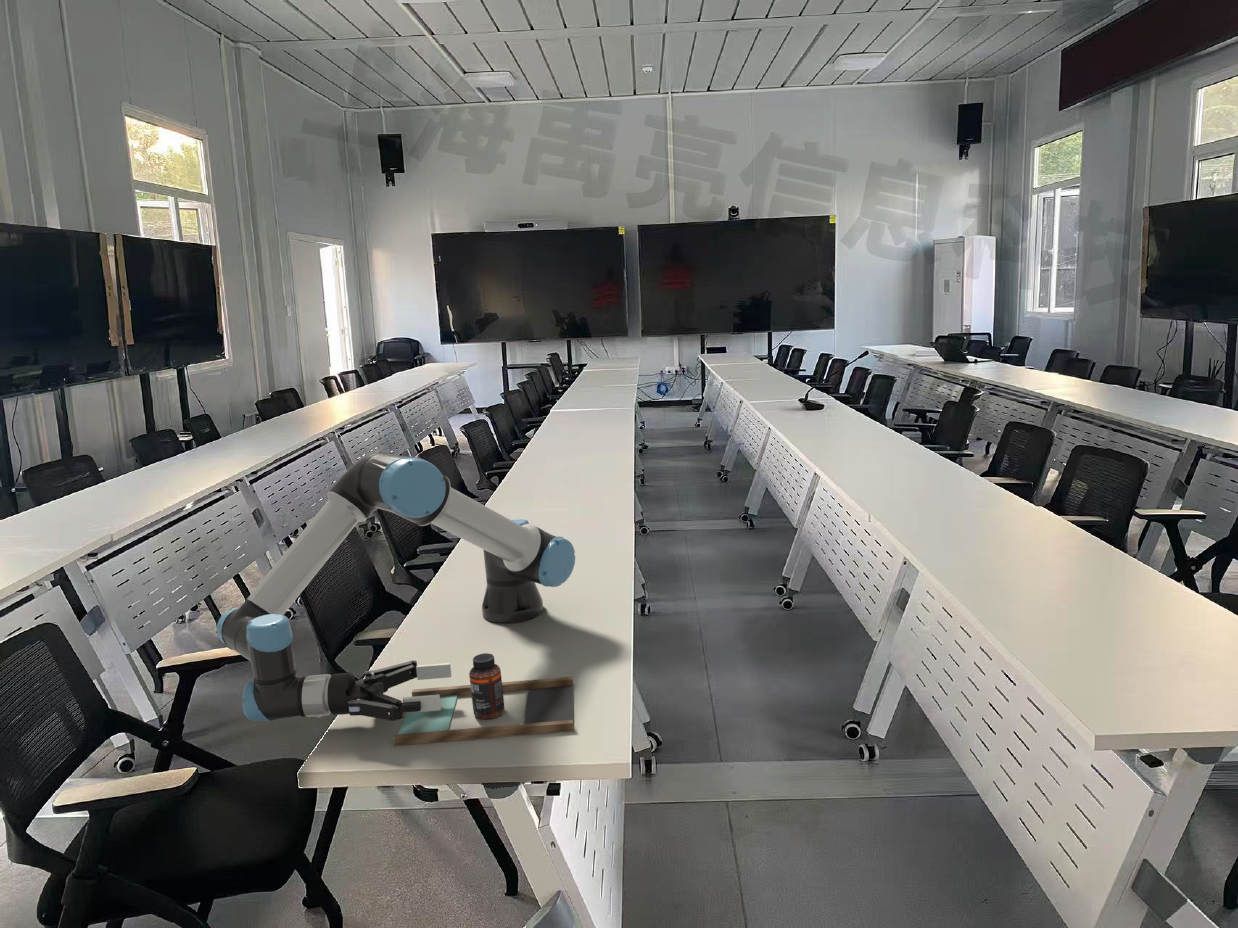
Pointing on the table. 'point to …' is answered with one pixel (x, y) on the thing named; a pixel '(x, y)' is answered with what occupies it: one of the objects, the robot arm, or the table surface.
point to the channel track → (543, 715)
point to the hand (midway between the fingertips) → (445, 685)
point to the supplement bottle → (486, 687)
